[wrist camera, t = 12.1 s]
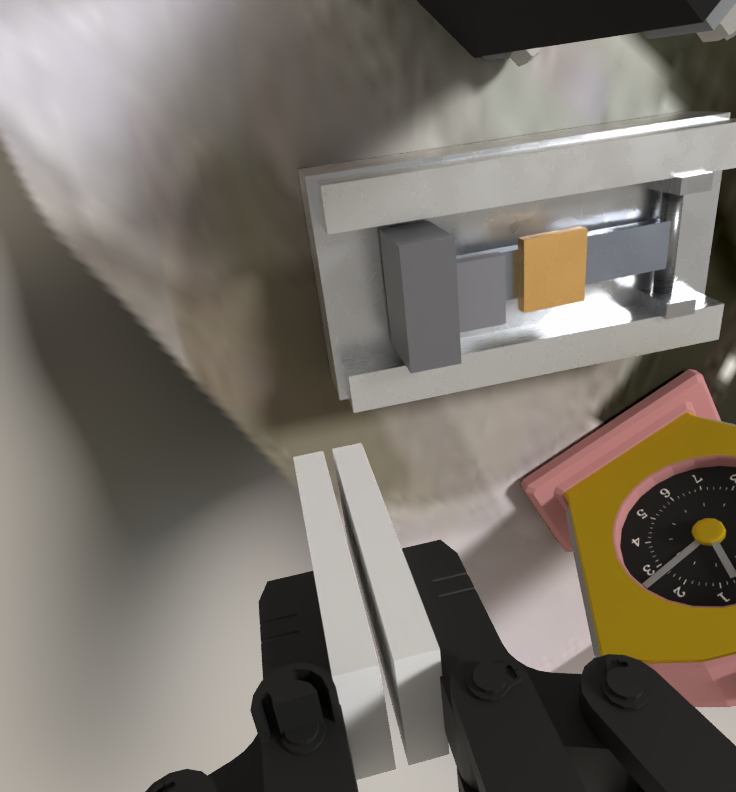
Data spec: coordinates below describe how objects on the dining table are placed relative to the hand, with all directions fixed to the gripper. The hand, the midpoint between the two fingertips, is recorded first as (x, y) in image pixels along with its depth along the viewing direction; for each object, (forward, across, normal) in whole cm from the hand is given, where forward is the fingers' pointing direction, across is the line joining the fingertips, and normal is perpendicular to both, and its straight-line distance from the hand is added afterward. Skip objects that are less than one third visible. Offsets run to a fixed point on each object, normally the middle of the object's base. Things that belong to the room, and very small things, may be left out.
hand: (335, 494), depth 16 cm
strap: (+22, +17, -2) cm, 28 cm away
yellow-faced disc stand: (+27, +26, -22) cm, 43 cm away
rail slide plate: (+26, +16, -2) cm, 31 cm away
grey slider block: (+22, +9, -2) cm, 24 cm away
